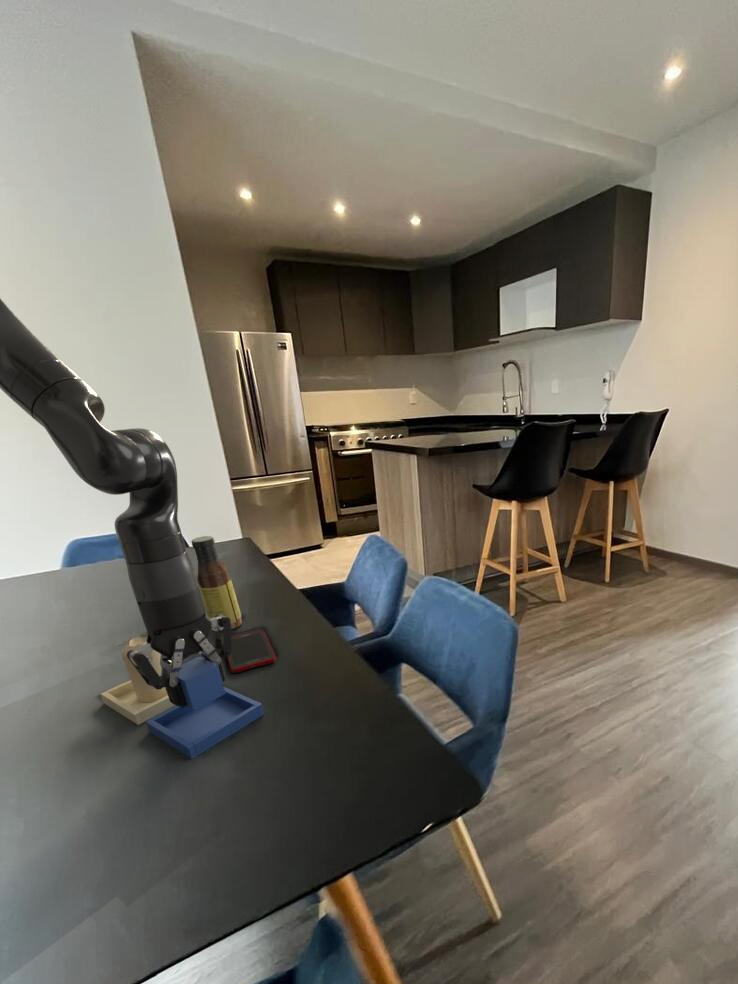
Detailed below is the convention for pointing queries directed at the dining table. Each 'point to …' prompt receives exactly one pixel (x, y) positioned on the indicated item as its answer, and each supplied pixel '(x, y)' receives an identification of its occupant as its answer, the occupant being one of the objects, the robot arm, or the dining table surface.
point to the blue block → (200, 682)
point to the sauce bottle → (215, 582)
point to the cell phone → (250, 651)
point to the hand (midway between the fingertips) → (200, 695)
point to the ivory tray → (134, 703)
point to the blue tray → (204, 723)
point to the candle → (140, 686)
